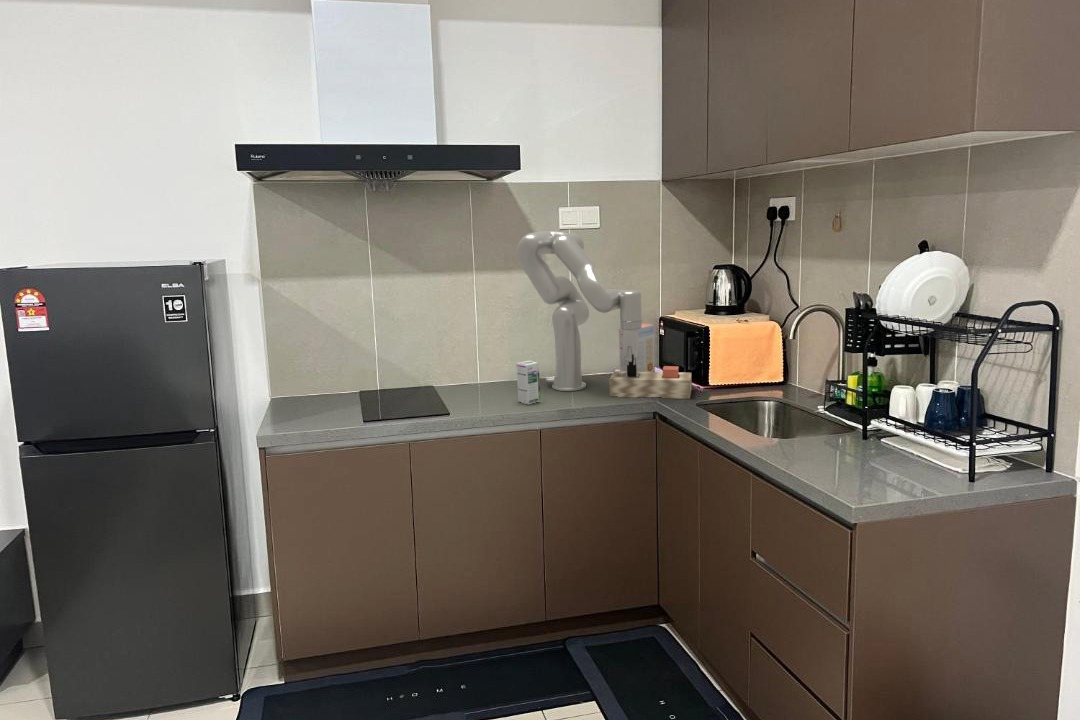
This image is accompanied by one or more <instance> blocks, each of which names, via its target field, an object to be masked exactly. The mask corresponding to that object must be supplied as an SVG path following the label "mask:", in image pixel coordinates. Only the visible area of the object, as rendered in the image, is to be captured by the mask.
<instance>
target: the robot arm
mask: <svg viewBox="0 0 1080 720" xmlns="http://www.w3.org/2000/svg"><path fill="white" fill-rule="evenodd" d="M584 247H585V243H584V240H583V238H582V237H581V235H579V234H577V233H574V232H562V231H551V230H544V231H543V230H542V231H537V232H536V231H535V232H529V233H526V234H525V235H524V236H523V237H521V239H520V240H519V242H518V244H517V247H516V258H517V261H518V264H519V266H520V267H521V268H522V270H523V271H524V273H525V274H526V275H527V277H528V279H529V280H530V283H531V284H532V286H533V287H534V289H535V290H536V292H537V294H538V295H539V296H540V298H541V299H542V301H543V302H544V303H545V304H547V305H556V304H558V306H557V307H555V309H554V310H553V312H552V316H551V322H552V328H553V334H554V347H555V348H554V349H555V352H554V353H555V375H553V376H551V375H546V376H545V377H544V379H545V380H544V381H545V382H547V383H552V388H553V389H554V390H556V391H561V392H574V391H581V390H583V389H585V388H586V387H587V384H586V382H584V381H583V380H582V379H583V378H582V377H583V375H582V343H581V342H582V341H581V334H580V330H579V326H582V325H583V324H585V323H586V322H587V321H588V319H589V317H590V310H589V306H588V305H587V303H586V301H585V300H587V302H588V303H589V304H590V305H591V306H592V308H594V309H595V310H596V311H597V312H599V313H603V314H606V313H610V312H612V311H615V310H619V318H620V320H619V323H620V325H619V327H620V328H619V329H620V330H623V347H622V357H623V358H625V357H626V355H627V376H636V375H637V369H636V357H637V355H638V349H639V332H638V330H641V329H642V324H643V323H642V294H641V291H640V290H637V289H618V288H609V289H606V290H605V289H604V288H603V286H602V285H601V283H600V282H599V281H598V279H597V278H596V275H595V263H594V260H592V259H591V258H590V256H589V255H588V254H587V253H586V252H585V251H584ZM546 254H548V255H555V256H556V257H557V258H558V259H559V260H560V261H561V263H562V264H563V265H564V266H565V267H566V269H568V270H569V272H570V273H571V274H572V275H573V276H574V278H575V280H576V284H577V285H578V288H579V290H580V292H581V293H580V292H579V291H578V289H577V287H576V285H575V284H574V283H573V282H572V280H570V278H567V277H565V276H556V275H555V274H554V272H553V271H552V270H551V268H550V266H549V265H548V264H547V263H546V261H544V260H543V259H542V258H541V256H542V255H546ZM582 295H583V297H584V298H583V297H582ZM584 299H585V300H584Z"/></svg>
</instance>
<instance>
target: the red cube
mask: <svg viewBox="0 0 1080 720" xmlns="http://www.w3.org/2000/svg"><path fill="white" fill-rule="evenodd" d="M679 368H680V367H679V366H677V365H675V366H672V365H670V366H669V365H664V366H663V367H662V372H663V378H679Z"/></svg>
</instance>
